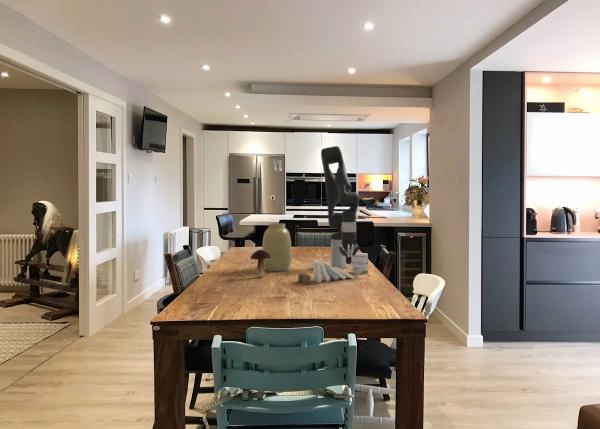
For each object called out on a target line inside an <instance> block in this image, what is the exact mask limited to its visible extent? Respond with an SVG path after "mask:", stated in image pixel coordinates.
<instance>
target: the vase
mask: <svg viewBox="0 0 600 429" xmlns="http://www.w3.org/2000/svg"><path fill="white" fill-rule="evenodd" d="M261 250H263V251H265V252H267V253H268V254H269V255H270V257H271V258H266V259H263V262H264V270H266V271H267V272H268V271H269V272H285V271H287V270H289V269H290V266H291V264H292V240H291V235H290V231H289V229H287V228H286V224H285V223H281V222H279V223H268V228H266V230H265V231H264V233H263V239H262V249H261Z"/></svg>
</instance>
